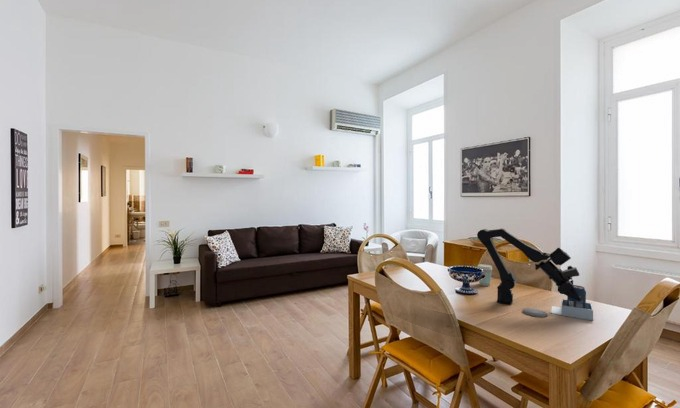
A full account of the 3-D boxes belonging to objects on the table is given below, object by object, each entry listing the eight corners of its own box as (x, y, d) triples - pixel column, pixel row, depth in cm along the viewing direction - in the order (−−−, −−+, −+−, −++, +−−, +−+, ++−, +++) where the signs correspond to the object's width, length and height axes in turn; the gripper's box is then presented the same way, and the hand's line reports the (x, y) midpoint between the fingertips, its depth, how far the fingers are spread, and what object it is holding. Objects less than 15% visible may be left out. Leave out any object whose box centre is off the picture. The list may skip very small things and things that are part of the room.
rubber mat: (521, 314, 151) (521, 313, 151) (523, 308, 159) (523, 307, 159) (547, 318, 145) (547, 317, 145) (547, 312, 154) (547, 311, 154)
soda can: (574, 309, 156) (574, 284, 156) (589, 314, 149) (589, 288, 149) (563, 310, 154) (564, 285, 154) (578, 315, 147) (578, 289, 147)
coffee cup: (495, 286, 199) (495, 266, 199) (484, 287, 196) (484, 267, 196) (484, 282, 207) (484, 263, 207) (473, 283, 204) (474, 264, 204)
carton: (551, 313, 152) (551, 303, 152) (552, 304, 165) (552, 295, 165) (593, 320, 144) (593, 310, 144) (590, 310, 156) (590, 301, 156)
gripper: (567, 264, 145) (598, 293, 140) (567, 258, 161) (594, 284, 155) (545, 279, 150) (574, 308, 144) (547, 271, 166) (573, 297, 160)
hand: (580, 298), depth 151 cm, fingers closed on soda can, 7 cm apart
